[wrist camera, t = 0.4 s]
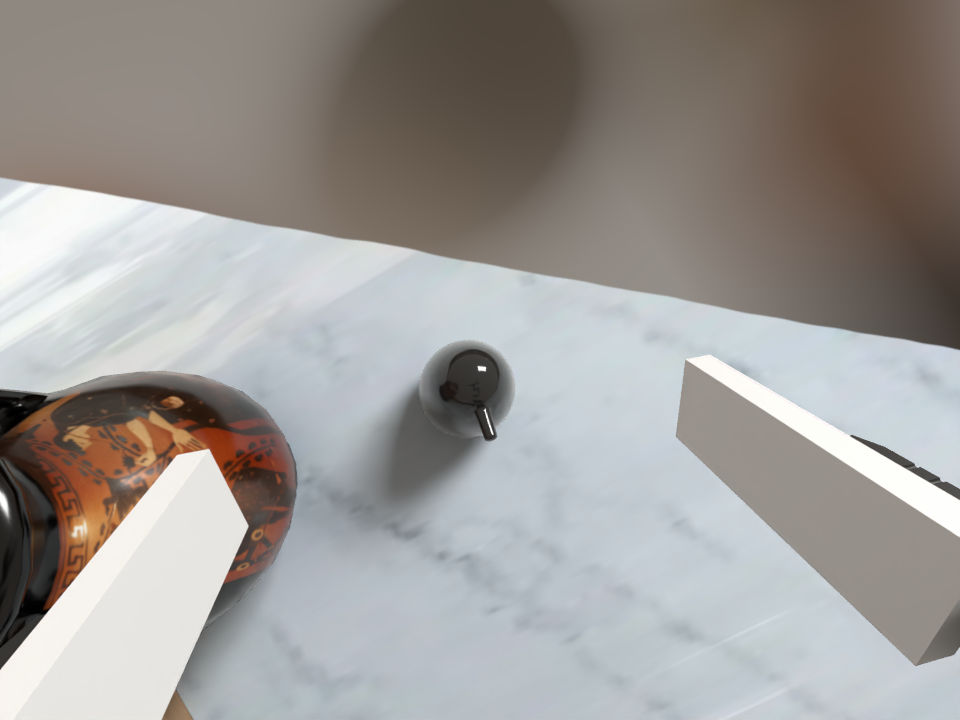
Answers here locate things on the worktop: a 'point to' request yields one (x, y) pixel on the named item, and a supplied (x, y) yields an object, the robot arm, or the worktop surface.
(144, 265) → the worktop surface
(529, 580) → the worktop surface
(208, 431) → the amphora vase
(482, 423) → the pump dispenser
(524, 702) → the worktop surface
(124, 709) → the robot arm
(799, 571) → the worktop surface
